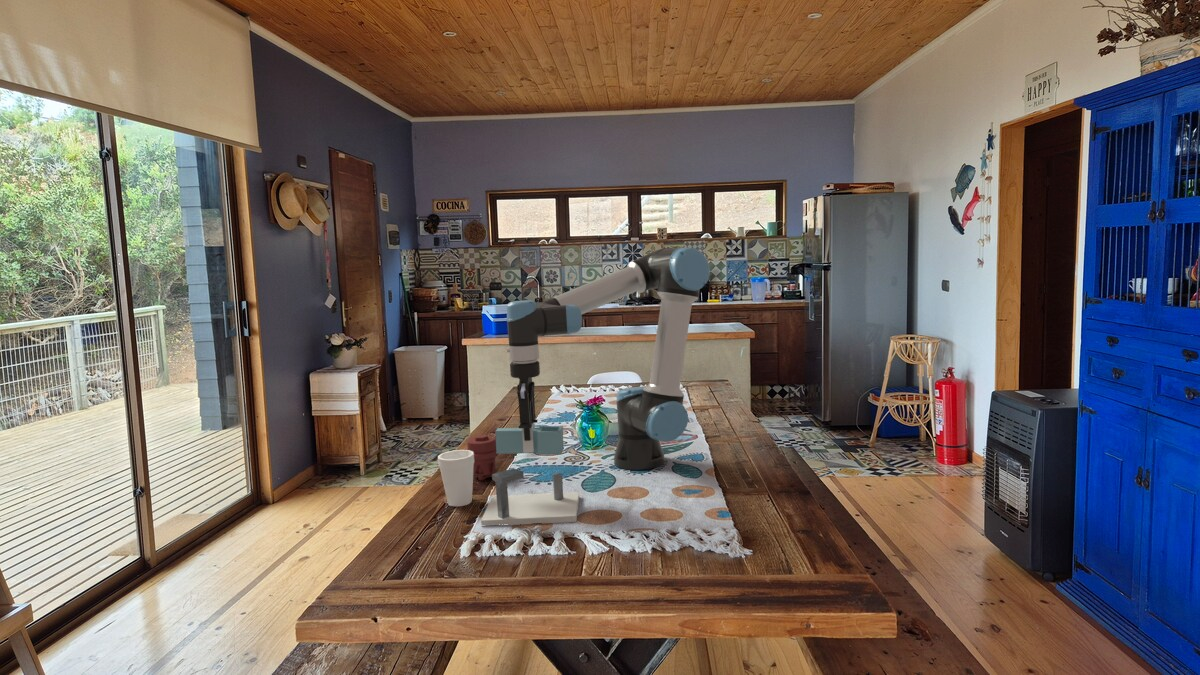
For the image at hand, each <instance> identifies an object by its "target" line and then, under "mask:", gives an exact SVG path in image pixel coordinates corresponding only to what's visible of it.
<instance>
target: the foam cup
mask: <svg viewBox="0 0 1200 675" xmlns="http://www.w3.org/2000/svg"><path fill="white" fill-rule="evenodd" d="M437 463H438V468H439V471H440V475H441V479H442V482H443V488H444V493H445V497H446V502H447V505H448V506H450V507H463V506H467V505H469V504H471V503H472V501H473V500H472V499H473V485H474V484H473V483H474V474H473V467H474V453H473V451H470V450H467V449H455V450H454V449H453V450H450V451H445V452H442V453H440V454H439V455H437Z"/></svg>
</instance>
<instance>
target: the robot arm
mask: <svg viewBox="0 0 1200 675" xmlns="http://www.w3.org/2000/svg"><path fill="white" fill-rule="evenodd" d="M710 267H711V266H710V263H709V261H708V259H707V257H706V256H705V255H704V253H702V251H700V250H698V249H696V248H693V247H687V246H685V247H684V246H680V247H671V248H670V247H663V248H660V249H657V250H654V251H652V252H650V253H647V254H646V255H643V256H641V257H639V258H636V259H634V260H632V261H629V262H628V264H627V266H625V267H624V268H622V269H620V270H617V271H614V272H612V273H609V274H607V275H604V276H602V277H600V278H598V279H595V280H592V281H590V282H588V283H585V284H582V285H580V286H578V287H575V288H574V289H573V288H572V289H570V290H568V291H566V292H562V293H560V294H558V295H556V296H553V297H551V298H548V299H546V300H544V301H542V302H539V301H538V302H537V301H535V300H528V299H527V300H525V299H524V300H514V301H510V302H508V303H507V306H506V323H507V338H508V348H507V349H506V353H509V361H511V362H510V363H509V369H510V377H511V378H514V379H519V380H518V381H519V383H518V384H517V385H516V386H517V392H516V394H517V400H518V412H519V414H518V415H519V426H518V428H522V438H523V453H522V454H529V453H528V452H534V440H533V428H536V424H538V419H536V405H535V403H536V402H535V386H536V385H535V381H533V378H536V377H538V376H540V373H541V370H540V369H541V368H540V362H539V361H538V360H539V359H540V350H539V337H545V336H547V337H548V336H557V335H560V336H561V335H570V334H574V333H575V334H576V333H579V331H580V330H581V328H582V325H583V316H582V315H584V314H586V313H588V312H590V311H594V310H596V309H598V308H600V307H603V306H605V305H608V304H610V303H612V302H615V301H616V300H620V299H622V298H624V297H626V296H628V295H631V294H634V293H636V292H637V293H640V294H641V293H642V294H643V293H645V292H647V291H650V290H653V289H654V290H655V289H657V292H656V293H657V294H656V295H658V297H659V298H660V299H661V300H660V309H659V314H658V322H657V329H656V336H655V343H654V350H653V354H652V355H653V357H652V363H651V370H650V376H649V378H650V379H649V383H648V384H647V385H644V386H633V387H627V388H622V389H619V390H618V391H617V393H616V402H615V403H616V411H617V430H618V441H617V445H616V449H615V451H614V456H613V460H614V465H615V467H617V468H620V469H622V470H623V469H624V470H631V471H633V470H634V471H643V470H651V469H655V468H658V467H660V466H662V465H664V464H665V463H666V462H665V453H664V450H663V447H662V445H661V442H664V443H665V442H672V441H675V440H676V439H678V438H679V437H680V436H681V435H683V434H684V432H685V431H686V429H687V426H688V423H689V413H688V411H687V409H686V407H685V405H684V399H685V398H684V397H685V394H684V392H683V391H682V390H681V382H682V381H681V380H682V376H683V374H682V373H683V367H684V359H685V353H686V347H687V340H688V334H689V327H690V318H691V312H692V306H693V305H692V304H693V303H694V302H696V301H697V300H699V297H700V296H699V295H700V289H703V287H704V286H705V285H706V284H707V283H708V281H709V278H710V274H711V270H710ZM535 423H536V424H535Z"/></svg>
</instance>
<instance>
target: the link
mask: <svg viewBox="0 0 1200 675" xmlns="http://www.w3.org/2000/svg"><path fill="white" fill-rule="evenodd" d="M495 438H496V454H499V455H500V454H501V455H503V454H504V455H505V454H511V455H512V454H524V453H523V438H522V428H519V427H497V429H496V430H495ZM533 440H534V452H528V453H527V454H537V455H540V456H543V455H544V456H546V455H548V456H549V455H550V456H551V455H553V456H554V455H562V454H563V450H564V426H563V425H540V426H539V427H535V428H533Z"/></svg>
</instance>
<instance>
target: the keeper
mask: <svg viewBox="0 0 1200 675" xmlns="http://www.w3.org/2000/svg"><path fill="white" fill-rule="evenodd" d="M491 478H492V481H493V482H495V493H496V495H495V496H497V508H498V517H500V518H502V519H504V518H507V517H510V516H509V503H508V495H509V494H508V491H509V490H508V483H511V482H514V481H518V480H522V479H524V471H521V470H519V469H516V468H509V469H506V470H503V471H499V472H495V474H492V476H491Z"/></svg>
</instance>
